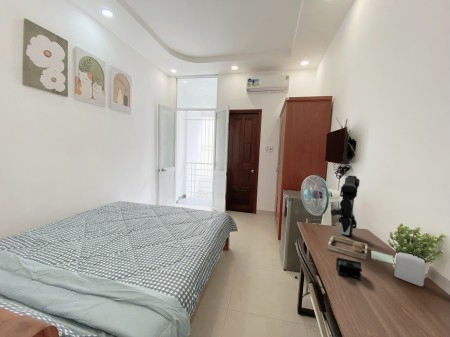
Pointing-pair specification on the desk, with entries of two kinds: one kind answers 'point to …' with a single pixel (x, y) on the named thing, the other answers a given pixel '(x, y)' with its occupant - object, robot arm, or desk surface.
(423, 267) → the photo printer
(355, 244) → the oak cube
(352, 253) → the corral
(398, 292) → the desk surface
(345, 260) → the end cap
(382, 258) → the pad
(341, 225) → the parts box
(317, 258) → the desk surface
